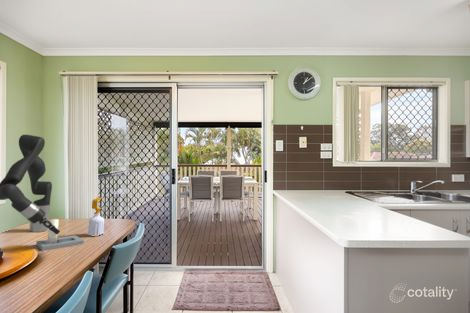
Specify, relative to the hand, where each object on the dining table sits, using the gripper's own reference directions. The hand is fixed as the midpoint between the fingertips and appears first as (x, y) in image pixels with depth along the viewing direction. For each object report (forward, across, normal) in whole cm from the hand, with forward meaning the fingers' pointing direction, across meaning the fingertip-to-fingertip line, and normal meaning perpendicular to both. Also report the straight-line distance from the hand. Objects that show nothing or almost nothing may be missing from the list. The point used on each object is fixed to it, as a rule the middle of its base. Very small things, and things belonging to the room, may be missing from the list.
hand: (57, 231), depth 147 cm
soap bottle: (+22, +9, -12) cm, 27 cm away
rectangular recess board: (+7, 0, +4) cm, 8 cm away
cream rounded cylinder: (+3, 0, +6) cm, 6 cm away
